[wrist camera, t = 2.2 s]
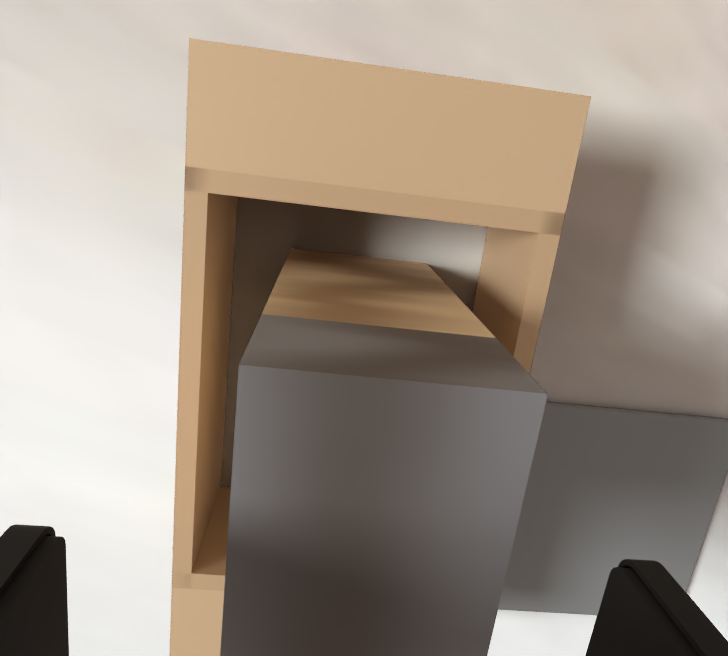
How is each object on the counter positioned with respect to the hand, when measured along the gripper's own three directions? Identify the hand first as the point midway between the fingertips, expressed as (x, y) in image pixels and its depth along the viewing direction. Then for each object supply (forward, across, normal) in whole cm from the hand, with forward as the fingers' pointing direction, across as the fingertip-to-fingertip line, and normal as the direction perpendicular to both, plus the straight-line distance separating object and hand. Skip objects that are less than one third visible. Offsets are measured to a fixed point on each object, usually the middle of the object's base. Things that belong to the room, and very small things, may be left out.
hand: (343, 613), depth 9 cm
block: (+12, -1, 0) cm, 13 cm away
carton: (+12, -1, 0) cm, 13 cm away
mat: (+12, -13, +6) cm, 19 cm away
